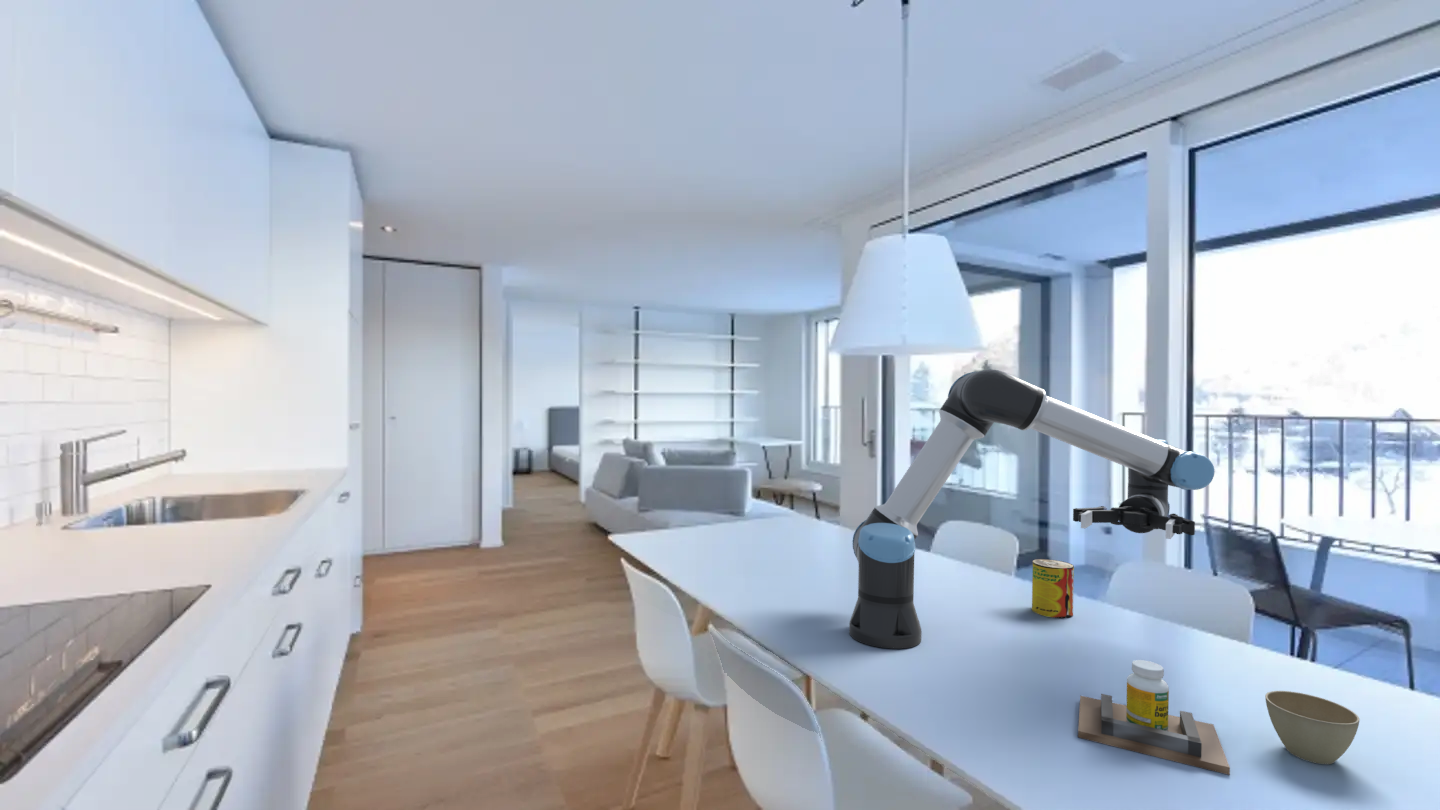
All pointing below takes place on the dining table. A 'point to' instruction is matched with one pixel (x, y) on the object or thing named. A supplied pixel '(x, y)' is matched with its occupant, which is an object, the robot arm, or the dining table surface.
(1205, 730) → the u rest
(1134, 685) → the supplement bottle
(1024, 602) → the dining table surface
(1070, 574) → the yellow red tin can
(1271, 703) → the beige bowl
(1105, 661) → the dining table surface
